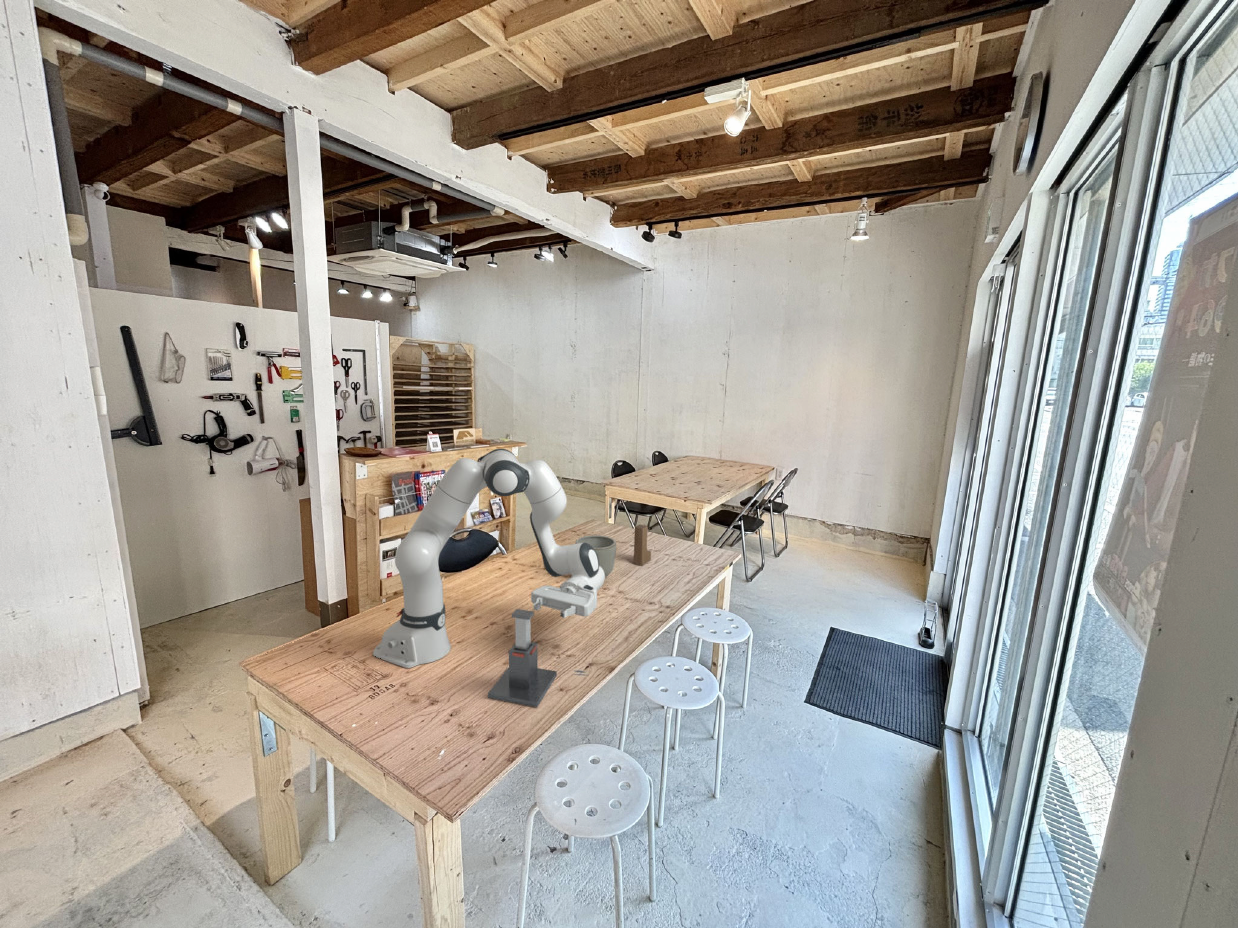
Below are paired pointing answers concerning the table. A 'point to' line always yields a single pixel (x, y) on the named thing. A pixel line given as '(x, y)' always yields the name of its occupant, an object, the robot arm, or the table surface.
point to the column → (523, 629)
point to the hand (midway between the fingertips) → (548, 611)
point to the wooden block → (641, 546)
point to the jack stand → (523, 679)
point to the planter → (602, 550)
